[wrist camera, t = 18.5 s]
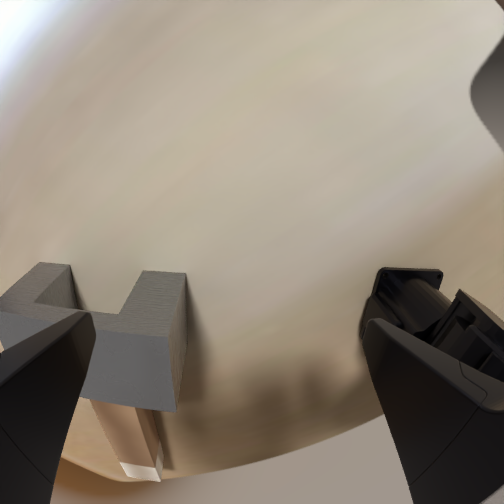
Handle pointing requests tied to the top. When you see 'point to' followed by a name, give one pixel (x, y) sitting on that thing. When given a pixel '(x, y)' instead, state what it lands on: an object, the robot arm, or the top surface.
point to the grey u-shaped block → (111, 333)
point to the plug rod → (132, 438)
